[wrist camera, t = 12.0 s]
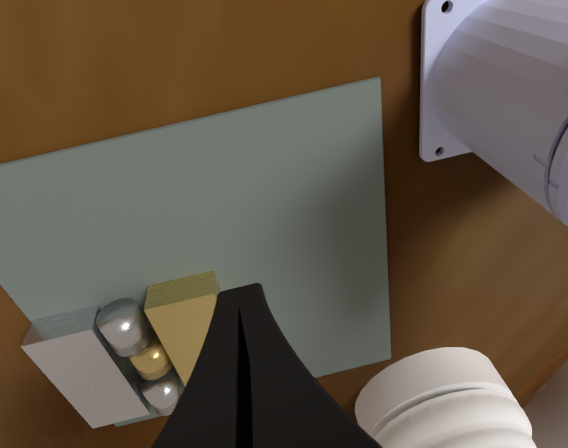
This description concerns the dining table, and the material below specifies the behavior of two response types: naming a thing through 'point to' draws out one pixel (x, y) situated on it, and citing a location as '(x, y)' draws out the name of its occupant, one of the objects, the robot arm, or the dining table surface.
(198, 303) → the tan knobbed block
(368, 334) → the mat
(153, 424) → the dining table surface
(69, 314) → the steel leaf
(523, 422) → the honey pot
